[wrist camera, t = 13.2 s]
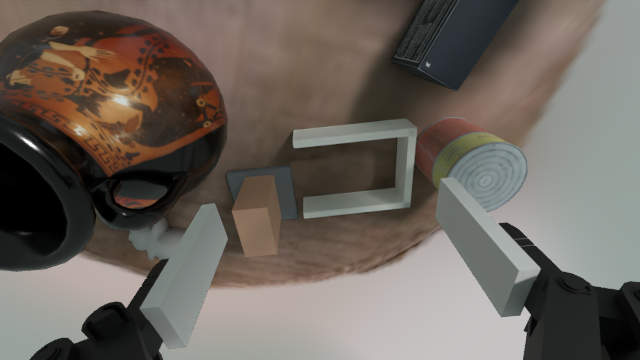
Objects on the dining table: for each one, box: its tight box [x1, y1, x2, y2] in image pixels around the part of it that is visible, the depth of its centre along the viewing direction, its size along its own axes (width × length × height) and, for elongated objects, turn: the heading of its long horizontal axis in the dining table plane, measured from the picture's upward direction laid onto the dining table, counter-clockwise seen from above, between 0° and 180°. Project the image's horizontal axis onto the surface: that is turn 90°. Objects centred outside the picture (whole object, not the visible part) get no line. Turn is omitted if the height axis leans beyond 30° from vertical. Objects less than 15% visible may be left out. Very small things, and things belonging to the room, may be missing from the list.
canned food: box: [414, 117, 528, 212], centre depth 42 cm, size 11×11×12 cm
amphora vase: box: [0, 10, 228, 272], centre depth 28 cm, size 22×22×28 cm
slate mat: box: [226, 165, 298, 220], centre depth 49 cm, size 11×11×1 cm
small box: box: [391, 0, 519, 91], centre depth 34 cm, size 11×6×10 cm, turn 154°
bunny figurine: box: [129, 217, 186, 260], centre depth 51 cm, size 10×5×15 cm
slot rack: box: [293, 118, 417, 219], centre depth 45 cm, size 19×14×5 cm
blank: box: [232, 175, 282, 257], centre depth 44 cm, size 5×9×10 cm, turn 5°
